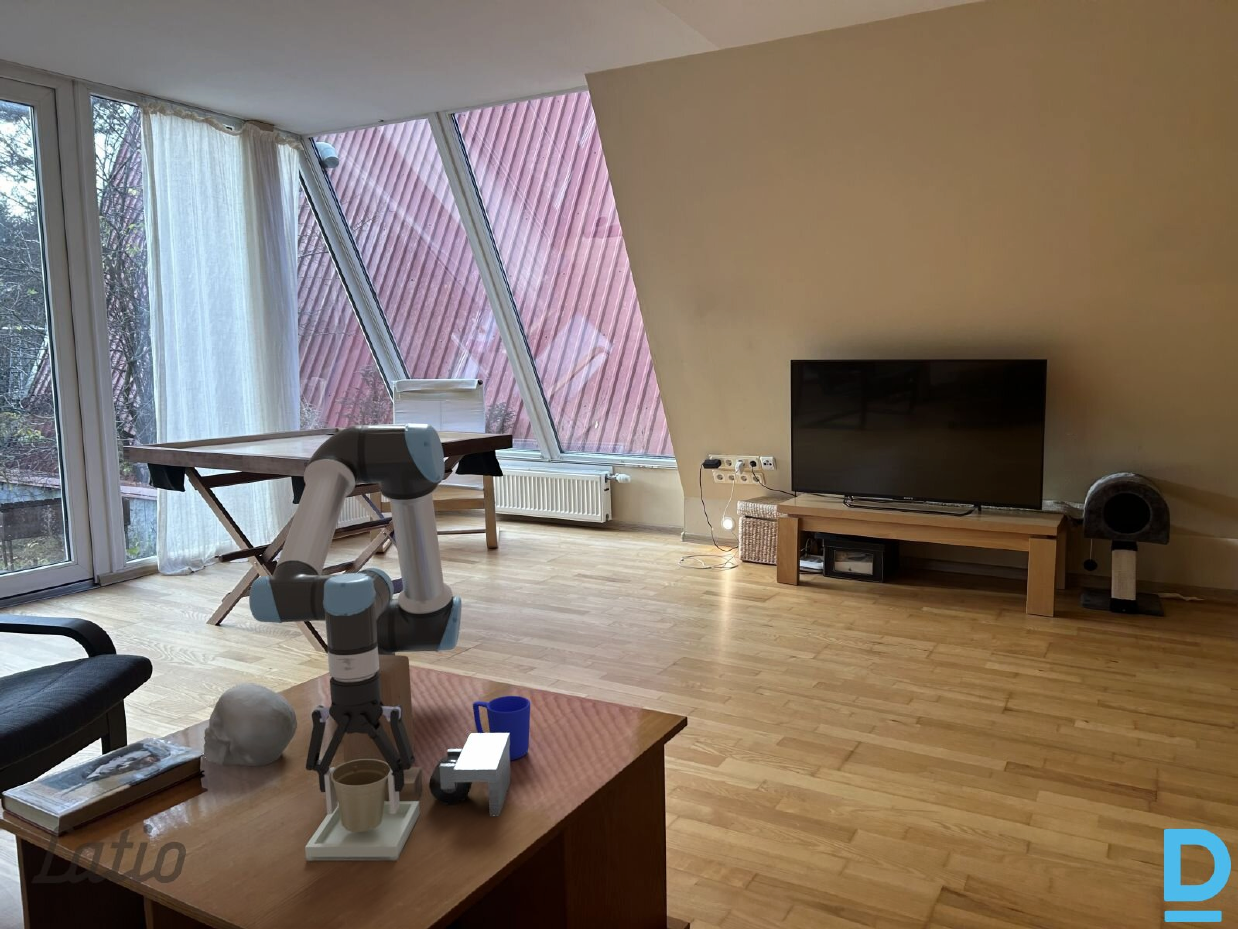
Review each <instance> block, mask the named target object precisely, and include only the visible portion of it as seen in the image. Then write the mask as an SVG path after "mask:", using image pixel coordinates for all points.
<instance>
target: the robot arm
mask: <svg viewBox="0 0 1238 929" xmlns="http://www.w3.org/2000/svg"><path fill="white" fill-rule="evenodd" d="M444 458H445V454H444V450H443V446H442V441H441V438H440V436H439V433H438V431H437V429H436V428H434V427H433V426H432V425H431V424H427V423H414V422H407V423H394V424H392V423H391V424H389V423H387V424H356V425H351V426H348V427H345V428H343V429H341V430H339V431H337V432H335V433H334V434H333V435H331V436H330V437H328V439H326V440H325V441H324V442H323V443H321V445H319V447H318V448H317V449H316V450H315V451H314V453H313V454H312V455H311V457H310V459H309V460H308V462H307V465H306V467H305V470H304V473H303V481H304V483H305V486H304V488H303V489H304V490H303V492H302V495H301V498H300V500H299V503H298V505H297V509H296V511H295V514H294V517H293V519H292V522H291V525H290V528H289V531H288V533H287V535H286V536H287V537H286V538H285V540H284V541H285V542H284V544H283V547H282V550H281V553H280V555H279V558H278V561H277V563H276V566H275V569H274V571H273V573H272V575H271V576H270V575H266V576H259V577H258V578H256V579H255V580H254V581H253V582H252V584H251V586H250V590H249V596H248V601H249V602H248V604H249V609H250V612H251V616H252V617H253V618H254V620H255V621H257V622H261V623H275V624H276V623H279V624H282V623H296V622H298V623H299V622H315V621H316V622H318V621H320V622H322V621H323V622H325V631H326V632H325V633H326V644H327V645H326V646H327V660H328V661H327V662H328V674H329V676H330V679H329V689H330V701H331V703H330V706H326V707H324V706H323V705H318V706H317V707H316V708H315V709H314V710H313V711H312V712H311V720H312V731H311V736H310V742H309V747H308V751H307V757H306V762H305V769H306V770H307V771H314V772H317V775H318V783H319V784H318V785H319V791H320V792H321V793H325V801H326V802H325V803H326V814H327V815H328V814H332V813H333V812H334V811H335V809H336V808H337V806H338V803H337V802H338V797H337V791H336V789H335V787H334V783H333V782H332V780H331V778H330V775H331V772H332V771H333V769H335V768H336V766H335V767H333V766H331V764H332V762H333V759H334V757H335V756H336V753H337V751H338V750H339V747H340V744H341V743H342V742H343V737H344V735H345V733H346V732H347V734H352V733H356V732H357V733H361V734H366V733H367V734H368V736H369V737H370V738H371V739H373V741H374V742H375V744H376V746H377V747H378V749H379V750H380V752H381V754H382V755H383V757H384V759H385V760H386V762H387V763H388V765H389V767H390V768H391V770H390V772H389V774H388V786H389V802H390V814H395V813H396V811H397V809H398V808H399V806H400V803H399V792H401V791H402V789H403V787H404V770H409V769H410V768H411V767H412V766H413V764H414V763H415V760H416V759H415V754H414V755H413V751H412V748H411V745H410V742H409V739H408V736H407V733H406V730H405V727H404V724H403V721H402V706H401V705H399V704H398V705H396V706H395V707H389V706H384V704H383V703H382V701H381V689H380V674H379V673H378V672H377V671H378V669H379V658H378V654H379V655H396V653H405V652H406V653H411V652H413V653H414V652H417V653H418V652H437V653H438V652H439V651H451V650H453V649H454V648H456V646H457V644H458V640H459V635H460V629H461V618H462V598H461V597H460V596H456V595H454V596H453V590H452V588H451V586H449V584H447V583H445V581H444V575H443V568H442V560H441V552H440V545H439V537H438V528H437V522H436V515H435V514H436V513H435V506H434V499H433V493H434V492H435V491H436V490H437V489H438V487H439V482H441V481H442V480H443V479H444V477H445V470H446V468H445V467H446V466H445V465H446V464H445V460H444ZM361 484H378V485H379V492H380V495H381V496H382V497H384V498H386V499H387V500H388V501H389V506H390V512H391V519H392V525H393V531H394V536H395V537H394V538H395V539H394V540H395V544H396V550H397V556H398V558H397V559H398V563H399V569H400V577H401V581H402V582H401V583H402V590H401V591H400V592H399V594H398V596H397V598H394V593H395V592H394V590H395V588H394V583H393V581H392V579H391V577H390V575H389V574H388V573H386V572H385V571H384V570H382V569H379V568H375V567H367V568H364V569H361V570H359V571H357V572H354V573H353V572H352V573H343V574H342V573H341V574H322V572H323V569H324V566H325V563H326V560H327V556H328V554H329V550H330V547H331V545H332V541H333V538H334V534H335V531H336V528H337V526H338V522H339V519H340V515H341V513H342V509H343V506H344V504H345V500H346V497H348V496H349V495H350V494H351V493H352V492H353V491H354V490H355V487H356V485H361ZM382 714H383V715H385V716H386V718H387V721H390V726H391V730H392V733H393V736H394V739H395V742H396V746H397V749H398V752H399V754H398V752H397V750H396V749H395V747H394V746H393V744H392V742H391V741H390V739H389V737H388V736H387V734H386V733H385V731H384V729H383V725H382V723H381V722H380V720H379V718H380V717H381V715H382ZM329 717H331V718H332V719H333V721H334V722H335V723H336V724H337V726H336V729H335V731H334V733H333V736H332V738H331V740H330V742H329V744H328V746H327V748H326V750H325V752H324V755H323V757H322V759H320V755H321V750H322V745H323V739H324V734H325V728H326V725H327V724H326V723H327V720H328V719H329ZM330 766H331V767H330Z"/></svg>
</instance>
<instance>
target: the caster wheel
mask: <svg viewBox="0 0 1238 929" xmlns="http://www.w3.org/2000/svg"><path fill="white" fill-rule="evenodd" d="M509 746H510V733H490V732H484V733H478V732H472V733H471V732H470V734H469V735H468V738H467V739H466V742H465V744H464V746H463V748H448V749H447V751H446V754H447V755H446V756H444V757H442V758H441V759H440V760H438V762H437V763H436V766H435V768H434V769H433V771H432V773H431V775H430V778H429V782H428V783H429V784H428V787H429V791H430V793H431V795H432V796H433V798H434V799H435V800H436V801H438V802H440V803H442V804H444V805H451V806H452V805H457V804H459V803H461V802H463V801H464V800H465V799H466V798H467V797H468V795H469V793H470V792H471V789H472V786H473V784H474V783H487V784H488V785H487V786H488V787H487V788H488V805H489V806H488V808H489V809H488V810H489V816H490V815H491V816H490V817H500V816H501V813H500V812H502V810H503V807H504V803H505V800H506V798H507V795H508V792H507V790H508V791H509V789H508V788H510V786H511V785H510V784H511V783H510V782H512V781H511V780H512V778H511V760H510V755H509ZM509 785H510V786H509ZM506 794H507V795H506ZM505 797H506V798H505ZM501 809H502V810H501ZM493 815H495V816H493ZM497 815H498V816H497ZM499 815H500V816H499Z"/></svg>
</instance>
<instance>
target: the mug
mask: <svg viewBox="0 0 1238 929" xmlns="http://www.w3.org/2000/svg"><path fill="white" fill-rule="evenodd" d="M480 707H482V708H485V709H486V714H487V721H488V728H489V733H510V746H509V755H510V761H511V760H512V761H515V760H517V759H520V758H523V757H524V756H525V755H526V754H528V751H529V746H530V727H531V726H530V724H531V722H530V720H531V701H530V700H529V698H526V697H523V696H520V695H519V696H518V695H507V696H506V695H505V696H500V697H497V698H493V699H491V700H490V701H489V702H487V701H480V700H479V701H474V702H473V704H472V711H473V716H474V717H473V718H474V724H475V728H476V733H485V732H484V729H483V726H482V722H481V714H480Z"/></svg>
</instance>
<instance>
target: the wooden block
mask: <svg viewBox="0 0 1238 929" xmlns="http://www.w3.org/2000/svg"><path fill="white" fill-rule="evenodd" d="M378 658H379V669H378V671H377V672H378V673H379V674H380V689H381V701H382V703H383V704H384V706H389V707H395V706H396V705H398V704H399V705H401V706H402V721H403V724H404V727H405V730H406V733H407V736H408V739H409V742H410V745H411V748H412V751H413V755H414V756H415V741H414V739H415V738H414V721H413V720H414V719H413V707H412V706H413V705H412V704H413V703H412V690H411V689H412V688H411V687H412V686H411V674H410V672H411V670H410V659H409V656H406V655H397V654H395V655H379V654H378ZM379 720H380V722H381V723H382V725H383V729H384V731H385V733H386V734H387V736H388V737H389V739H390V741H391V742H392V744H393V746H394V747H395V749H396V750H397V752H398V749H397V746H396V742H395V739H394V736H393V733H392V730H391V726H390V721H387V718H386V716H385V715H383V714H382V715H381V717H380V718H379ZM342 747H343V749H342V750H343V751H342V752H343V763H345V762H349V761H353V760H358V759H376V760H381V761H384V762H386V760H385V759H384V757H383V755H382V754H381V752H380V750H379V749H378V747H377V746H376V744H375V742H374V741H373V739H371V738H370V737H369V736H368V734H367V733H366V734H361V733H357V732H356V733H352V734H347V732H346V733H345V735H344V737H343V739H342ZM398 754H399V752H398ZM386 763H387V762H386Z"/></svg>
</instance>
